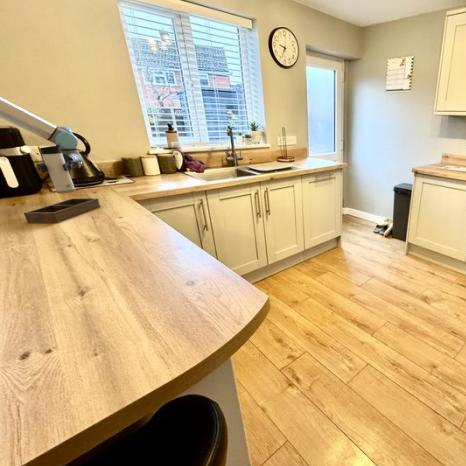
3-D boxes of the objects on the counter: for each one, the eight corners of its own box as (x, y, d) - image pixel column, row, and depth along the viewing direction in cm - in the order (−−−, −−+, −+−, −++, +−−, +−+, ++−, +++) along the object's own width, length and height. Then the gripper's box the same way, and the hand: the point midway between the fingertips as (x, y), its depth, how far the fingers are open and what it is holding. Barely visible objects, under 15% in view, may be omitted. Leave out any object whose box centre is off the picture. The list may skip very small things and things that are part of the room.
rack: (28, 223, 110) (23, 213, 108) (75, 207, 130) (72, 198, 128) (58, 223, 110) (53, 213, 109) (100, 207, 130) (97, 198, 129)
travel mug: (75, 192, 128) (58, 145, 121) (55, 194, 125) (36, 146, 117) (77, 189, 133) (61, 144, 125) (58, 191, 129) (40, 145, 122)
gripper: (94, 168, 145) (86, 175, 127) (42, 171, 135) (25, 179, 117) (89, 152, 142) (80, 158, 124) (35, 154, 132) (17, 161, 114)
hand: (53, 168), depth 121 cm, fingers closed on travel mug, 6 cm apart
